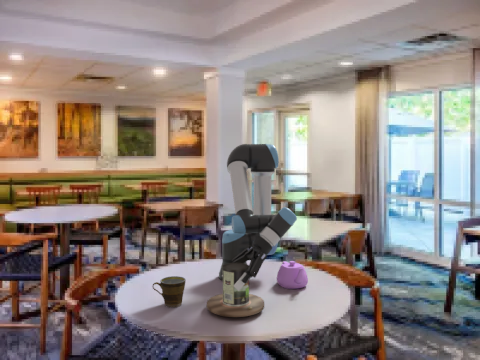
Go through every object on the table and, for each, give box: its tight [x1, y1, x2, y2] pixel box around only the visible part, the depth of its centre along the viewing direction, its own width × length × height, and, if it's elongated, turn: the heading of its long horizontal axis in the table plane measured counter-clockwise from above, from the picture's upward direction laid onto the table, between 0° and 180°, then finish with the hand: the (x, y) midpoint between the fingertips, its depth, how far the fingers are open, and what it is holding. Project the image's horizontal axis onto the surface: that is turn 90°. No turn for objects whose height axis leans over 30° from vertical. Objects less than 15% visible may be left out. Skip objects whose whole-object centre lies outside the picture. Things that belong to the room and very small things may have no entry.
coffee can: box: [222, 263, 250, 307], centre depth 156 cm, size 10×10×14 cm
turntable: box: [206, 293, 265, 318], centre depth 157 cm, size 22×22×4 cm
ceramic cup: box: [151, 276, 186, 308], centre depth 162 cm, size 13×10×10 cm
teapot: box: [276, 260, 309, 290], centre depth 185 cm, size 13×20×11 cm
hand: (229, 283), depth 155 cm, fingers open, 13 cm apart
